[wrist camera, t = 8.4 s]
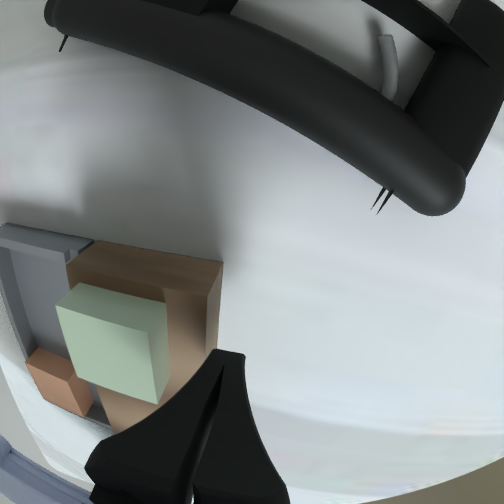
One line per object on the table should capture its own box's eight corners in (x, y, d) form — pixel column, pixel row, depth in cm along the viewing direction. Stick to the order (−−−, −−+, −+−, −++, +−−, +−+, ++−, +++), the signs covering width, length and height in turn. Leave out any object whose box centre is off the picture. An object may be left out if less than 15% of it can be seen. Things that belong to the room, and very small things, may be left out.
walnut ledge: (211, 438, 21) (203, 468, 19) (131, 416, 22) (118, 442, 19) (223, 262, 15) (207, 296, 12) (97, 240, 15) (65, 264, 12)
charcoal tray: (128, 415, 22) (119, 432, 20) (55, 385, 22) (45, 399, 21) (93, 239, 15) (72, 255, 13) (6, 222, 16) (-14, 234, 14)
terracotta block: (43, 398, 19) (54, 383, 21) (84, 417, 19) (94, 400, 21) (24, 362, 18) (38, 347, 19) (67, 381, 17) (80, 364, 19)
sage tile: (170, 375, 14) (157, 404, 12) (94, 352, 15) (77, 376, 13) (166, 303, 12) (147, 332, 11) (79, 282, 13) (55, 305, 11)
